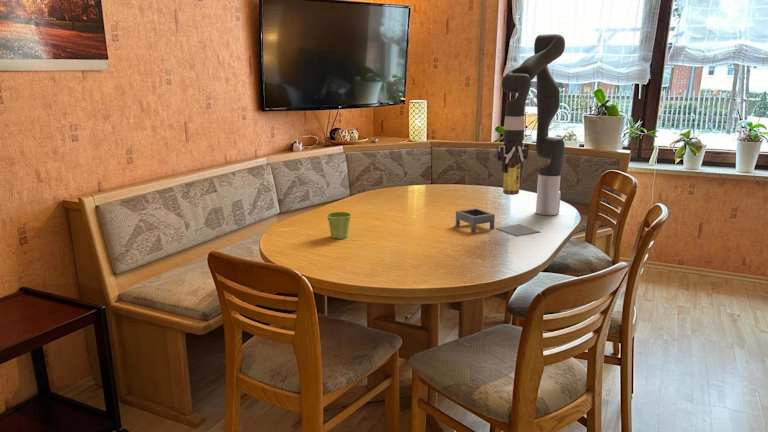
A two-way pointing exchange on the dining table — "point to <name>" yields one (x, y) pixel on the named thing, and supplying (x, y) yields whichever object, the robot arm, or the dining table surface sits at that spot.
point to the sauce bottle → (512, 174)
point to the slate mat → (518, 230)
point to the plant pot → (339, 224)
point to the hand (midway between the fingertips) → (512, 171)
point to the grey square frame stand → (475, 218)
